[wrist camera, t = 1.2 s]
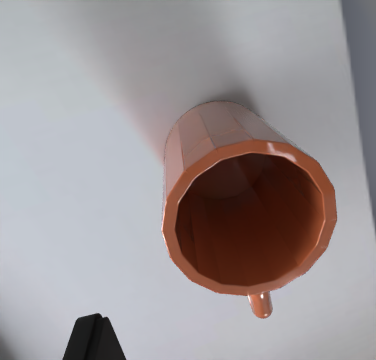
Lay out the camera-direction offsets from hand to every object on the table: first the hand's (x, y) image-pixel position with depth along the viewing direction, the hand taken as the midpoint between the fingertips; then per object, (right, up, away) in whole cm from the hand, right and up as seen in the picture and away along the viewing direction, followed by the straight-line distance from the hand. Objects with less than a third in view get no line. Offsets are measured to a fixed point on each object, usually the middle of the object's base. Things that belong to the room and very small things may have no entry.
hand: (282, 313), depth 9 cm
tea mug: (0, +4, +13) cm, 13 cm away
